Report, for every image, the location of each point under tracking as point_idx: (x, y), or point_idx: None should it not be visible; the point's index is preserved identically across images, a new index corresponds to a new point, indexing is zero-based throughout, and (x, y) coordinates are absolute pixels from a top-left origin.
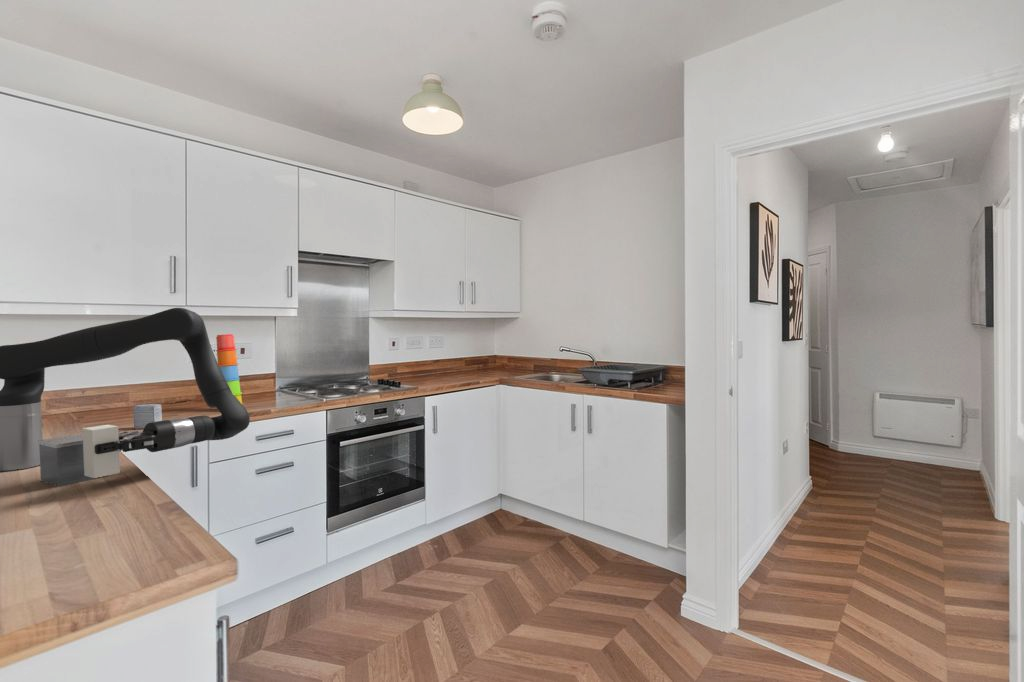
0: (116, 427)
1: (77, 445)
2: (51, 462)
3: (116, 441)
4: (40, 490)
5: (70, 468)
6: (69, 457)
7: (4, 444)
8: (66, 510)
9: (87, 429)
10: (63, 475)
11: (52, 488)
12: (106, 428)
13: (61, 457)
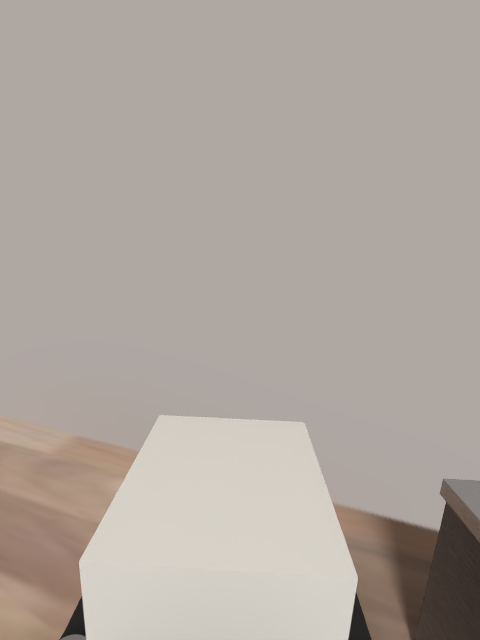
0: (88, 551)
1: None
2: None
3: (68, 637)
4: (392, 583)
5: None
6: (472, 603)
7: None
8: (67, 521)
9: (230, 419)
10: (434, 638)
11: (398, 620)
12: (129, 472)
13: (449, 559)
